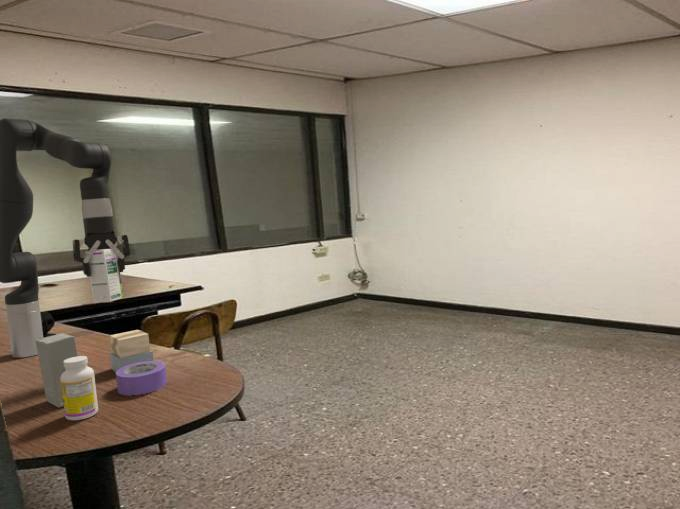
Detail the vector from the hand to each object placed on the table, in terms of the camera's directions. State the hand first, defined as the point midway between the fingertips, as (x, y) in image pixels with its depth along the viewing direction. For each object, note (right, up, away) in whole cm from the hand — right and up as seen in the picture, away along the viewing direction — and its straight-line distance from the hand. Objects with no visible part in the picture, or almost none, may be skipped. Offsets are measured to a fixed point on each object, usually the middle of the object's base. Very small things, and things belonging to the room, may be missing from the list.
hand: (105, 274), depth 143 cm
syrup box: (+1, -8, +1) cm, 8 cm away
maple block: (+6, -22, +3) cm, 23 cm away
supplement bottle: (+8, -30, -29) cm, 43 cm away
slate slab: (+6, -27, +3) cm, 28 cm away
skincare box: (-1, -30, -19) cm, 36 cm away
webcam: (-42, -25, +44) cm, 66 cm away
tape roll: (+15, -28, -13) cm, 35 cm away
